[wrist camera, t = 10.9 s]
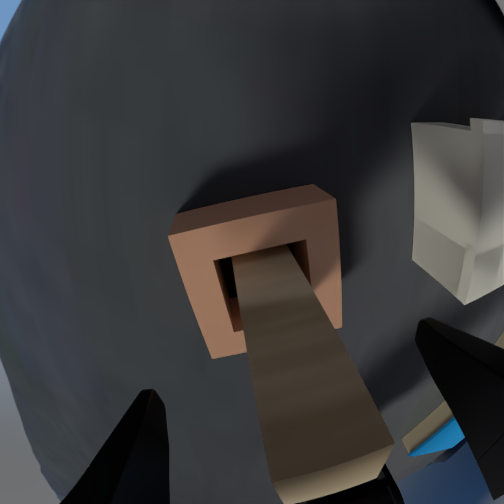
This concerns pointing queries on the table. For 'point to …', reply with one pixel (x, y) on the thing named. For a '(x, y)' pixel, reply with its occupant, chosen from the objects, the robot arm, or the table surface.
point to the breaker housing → (460, 205)
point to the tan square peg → (304, 384)
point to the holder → (252, 239)
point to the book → (436, 429)
